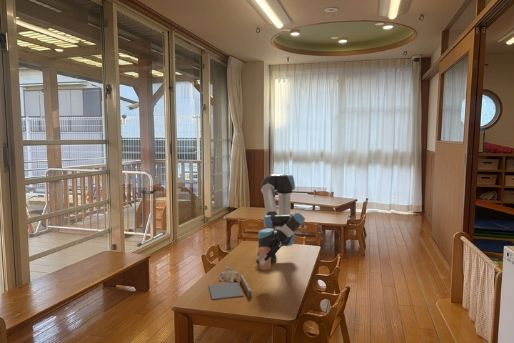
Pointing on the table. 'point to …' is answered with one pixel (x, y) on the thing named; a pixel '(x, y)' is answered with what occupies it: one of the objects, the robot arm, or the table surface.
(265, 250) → the pink rounded cylinder
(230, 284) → the mat
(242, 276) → the wooden plank
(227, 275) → the turtle
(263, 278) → the table surface
